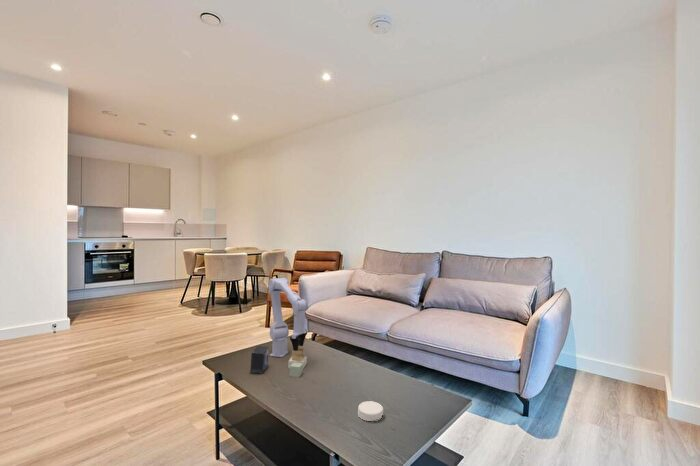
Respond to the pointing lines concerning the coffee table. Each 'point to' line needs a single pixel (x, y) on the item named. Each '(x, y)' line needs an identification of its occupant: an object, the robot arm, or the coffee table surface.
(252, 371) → the small box
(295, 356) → the oak cube
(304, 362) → the base block
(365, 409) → the coaster
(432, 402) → the coffee table surface
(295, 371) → the sage cube
